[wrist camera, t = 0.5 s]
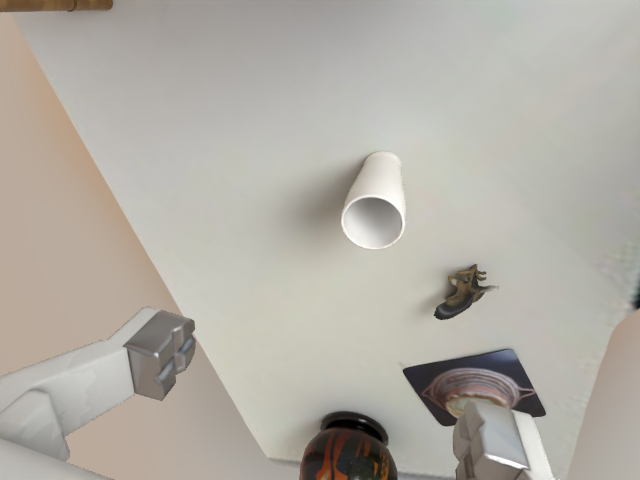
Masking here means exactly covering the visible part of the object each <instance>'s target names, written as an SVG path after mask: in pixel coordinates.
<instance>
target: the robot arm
mask: <svg viewBox="0 0 640 480" xmlns="http://www.w3.org/2000/svg"><path fill="white" fill-rule="evenodd" d="M194 330H195V323H194V320H192V319H189V318H186V317H183V316H179V315H176V314H173V313H169V312H166V311H163V310H159V309H156V308H153V307H150V306H147V307H144V308H142V309H141V310H140V311H139V312H137V313H136V314H135V315H134V316H133V317H132V318H131V319H130V320H129V321H127V322H126V323H125V324H124V325H123V326H122V327H121V328H120V329H118V330H117V331H116V332H115V333H114V334H113V335H112V336H111V337H110V338H108V339H107V340H106V341H102V340H100V341H97V342H94V343H91V344H88V345H86V346H83V347H80V348H77V349H75V350H72V351H69V352H66V353H64V354H61V355H58V356H55V357H53V358H50V359H47V360H44V361H41V362H39V363H36V364H33V365H30V366H28V367H25V368H22V369H19V370H17V371H14V372H11V373H8V374H6V375H3V376H1V377H0V480H114V479H111V478H108V477H105V476H102V475H100V474H96V473H94V472H92V471H89V470H86V469H84V468H81V467H78V466H75V465H73V464H70V463H67V462H66V461H67V460H68V458H69V457H70V451H69V448H68V445H67V442H66V440H65V436H67V435H68V434H70V433H72V432H73V431H75V430H77V429H78V428H80V427H82V426H83V425H85V424H87V423H88V422H90V421H92V420H94V419H95V418H97V417H99V416H100V415H102V414H104V413H105V412H107V411H109V410H110V409H112V408H114V407H116V406H117V405H119V404H121V403H122V402H124V401H126V400H127V399H129V398H131V397H132V396H134V395H135V393H136V394H139V395H143V396H146V397H150V398H153V399H157V400H160V401H162V400H163V399H164V397H165V396H166V395H167V394H168V392H169V391H170V390H171V388H172V387H173V386H174V384H175V383H176V376H175V375H177V374H178V373H181V372H183V371H185V370H186V368H187V367H188V365H189V364H190V362H191V360H192V357H193V355H194V353H195V348H196V340H195V339H194V337H193V336H192V332H193V331H194ZM464 410H465V415H462V416H460V417H458V420H457V422H456V424H455V428H454V433H453V452H454V455H455V456H456V458H457V459H458V461H459V462H460V463H459V465H458V466H457V468H456V470H455V471H456V480H558V479H555V478H554V477H553V474H552V471H551V468H550V465H549V462H548V459H547V457H546V454H545V451H544V448H543V445H542V442H541V439H540V436H539V434H538V431H537V428H536V425H535V422H534V419H533V418H532V416H531V415H530V414H527V413H523V412H519V411H516V410H512V409H508V408H505V407H502V406H498V405H494V404H491V403H487V402H483V401H480V400H476V399H472V398H470V399H469V400H467V402H466V404H465V406H464Z"/></svg>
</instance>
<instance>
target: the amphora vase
mask: <svg viewBox="0 0 640 480" xmlns="http://www.w3.org/2000/svg"><path fill="white" fill-rule="evenodd" d="M387 444H388V435H387V433H386V431H385V429H384V428H383V427H382V426H381V425H380V424H379V423H377V422H376V421H374V420H373V419H371V418H369V417H366V416H364V415H360V414H357V413H351V412H339V413H334V414H331V415H329V416H327V417H326V418H325V419H324V420H323V421H322V424H321V432H320V433H319V434H318V435H316V436H315V437H314V438H313V439H312V440H311V441H310V442H309V444H308V446H307V447H306V449H305V452H304V456H303V459H302V463H301V467H300V478H299V479H300V480H397V468H396V465H395V462H394V460H393V458H392V456H391V454H390V452H389V450H388V449H387V447H386V446H387Z"/></svg>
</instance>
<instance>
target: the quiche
mask: <svg viewBox="0 0 640 480" xmlns="http://www.w3.org/2000/svg"><path fill="white" fill-rule="evenodd" d="M403 373H404V374H405V376H406V377H407V379H408V380H409V382H410V383H411V385H412V386H413V388H414V389H415V391H416V392H417V394H418V395H419V397H420V398H421V399H422V401H423V402H424V403H425V405H426V406H427V407H428V409H429V410H430V411H431V413H432V414H433V415H434V417H435V418H436V419H437V421H438V422H439V423H440V424H441V425H443V426H453V425H455V424H456V422H457V420H458V417H460V416H462V415H465V410H464V406H465V404H466V402H467V400H469V399H470V398H472V399H476V400H480V401H483V402H487V403H491V404H494V405H498V406H502V407H505V408H508V409H512V410H516V411H519V412H523V413H527V414H530V415H531V416H532V417H541V416H545V415H546V412H545V410H544V408H543V406H542V404H541V402H540V400H539V398H538V396H537V394H536V392H535V390H534V388H533V386H532V384H531V382H530V380H529V378H528V377H527V375H526V373H525V371H524V369H523V367H522V365H521V363H520V362H519V360H518V358H517V356H516V354H515V352H514V351H513V350H510V349H509V350H504V351H499V352H494V353H490V354H484V355H479V356H474V357H468V358H462V359H456V360H450V361H443V362H436V363H430V364H424V365H419V366H414V367H409V368H406V369H404V370H403Z"/></svg>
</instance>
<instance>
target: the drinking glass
mask: <svg viewBox="0 0 640 480" xmlns="http://www.w3.org/2000/svg"><path fill="white" fill-rule="evenodd" d="M405 221H406V196H405V190H404V183H403V176H402V164H401V162H400V160H399V159H398V157H397V156H396V155H394V154H393V153H391V152H387V151H378V152H375V153H373V154H371V155H370V156H369V157H368V158H367V159H366V160H365V162H364V164H363V167H362V169H361V171H360V173H359V175H358V176H357V178H356V180H355V182H354V183H353V185H352V187H351V189H350V191H349V193H348V195H347V197H346V200H345V203H344V206H343V210H342V214H341V227H342V230H343V232H344V234H345V236H346V237H347V238H348V239H349V240H350V241H351V242H352V243H354V244H355V245H357V246H359V247H361V248H365V249H370V250H378V249H384V248H387V247H389V246H391V245H393V244H394V243H395V242H397V241H398V240H399V238H400V237H401V236H402V234H403V231H404V228H405Z"/></svg>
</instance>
